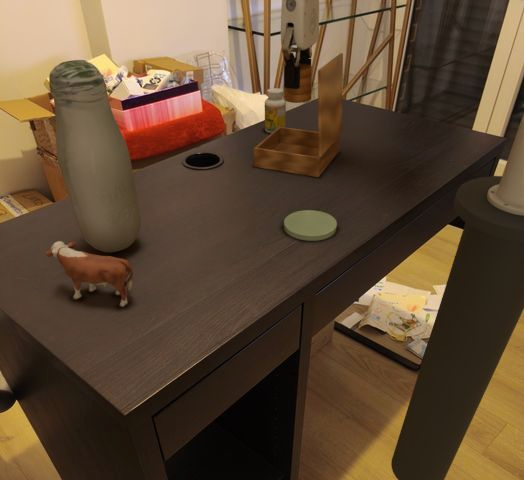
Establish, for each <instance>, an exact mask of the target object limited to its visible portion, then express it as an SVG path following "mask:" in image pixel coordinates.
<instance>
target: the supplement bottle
mask: <svg viewBox="0 0 524 480" xmlns="http://www.w3.org/2000/svg"><path fill="white" fill-rule="evenodd" d="M266 97H267V98H266V99H265V100H264V131H265V132H266V133H267V134H271V133H272V132H274V131H275V130H276V129H277V128H278V127H286V119H287V116H286V115H287V112H286V111H287V101H284V100H283V88H280V87H272V88H268V89H267V91H266Z"/></svg>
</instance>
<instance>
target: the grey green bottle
mask: <svg viewBox="0 0 524 480" xmlns="http://www.w3.org/2000/svg"><path fill="white" fill-rule="evenodd" d="M48 81H49V82H48V84H49V91H50V94H51V96H52V99H53V105H54V106H53V107H54V114H55V115H54V116H55V145H56V146H55V147H56V157H57V162H58V165H59V168H60V172H61V175H62V178H63V183H64V184H65V188H66V192H67V195H68V198H69V201H70V204H71V207H72V210H73V213H74V217H75V220H76V223H77V226H78V228H79V231H80V233H81V235H82V237H83V239H84V240H85V241H86V243H87V244H88V245H89V246H91V247H92V248H94V249H95V250H97V251H99V252H103V253H116V252H121V251H122V250H125V249H127V248H129V247H130V246H131V245H133V244H134V242H135V241H136V240H137V238H138V236H139V234H140V230H141V223H142V222H141V213H140V207H139V202H138V197H137V196H138V195H137V192H136V185H135V184H136V183H135V179H134V172H133V167H132V160H131V155H130V152H129V148H128V146H127V143H126V140H125V138H124V136H123V133H122V131H121V128H120V126H119V124H118V121H117V120H116V118H115V115H114V114H113V110H112V107H111V103H110V100H109V95H108V89H107V84H106V81H105V79H104V76H103V75H102V73H101V71H100V70H99V68H98V67H97V66H96V65H94V64H93V63H92V62H89V61H87V60H85V59H74V60H66V61H62V62H60V63H59V64H57V65H56V66H54V67H53V68H52V70H51V71H50V73H49V76H48Z"/></svg>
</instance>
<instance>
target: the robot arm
mask: <svg viewBox="0 0 524 480" xmlns="http://www.w3.org/2000/svg"><path fill="white" fill-rule="evenodd" d="M280 12H281V13H280V46H281V52H282V55H283V67H284V87H285V88H290V89H299V87H300V66H298V65H299V64H308V65H311V66H312V57H313V46H314V45H315V44H317V43H318V41H319V38H320V0H281V11H280ZM292 46H293V47H292ZM294 46H296V47H294ZM294 53H295V54H294ZM501 176H502V178H501V181H500V184H498V185H495V186H493V187H491V188H490V189H489V191H488V193H487V199H488V201H489V202H490V203H491V204H492V205H493V206H495V207H496V208H498V209H500V210H502V211H505V212H508V213H511V214H515V215H521V216H524V113H523V114H522V117H521V120H520V123H519V126H518V129H517V131H516V135H515V137H514V141H513V143H512V146H511V149H510V152H509V154H508V157H507V161H506V163H505V166H504V169H503V172H502V175H501Z"/></svg>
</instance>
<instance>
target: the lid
mask: <svg viewBox="0 0 524 480" xmlns="http://www.w3.org/2000/svg"><path fill="white" fill-rule="evenodd" d="M343 71H344V53H343V52H340V53H339V54H337V55H336V56H335V57H334V58H332V59H331V60H330V61H328V62H327V63H326V64H324V65H323V66H321V67H320V68H319V69H317V120H318V121H317V122H318V125H317V126H318V131H317V132H318V138H319V157H321V156H322V155H323V154H324V153H325V152H326V151H327V149H328V148H329V147H330V146H331V145H332V144H333V142H334V141H335V140H336V139H337V138H338V137H339V135H340V136H341V134H342V131H343V130H342V127H343V126H342V125H343V124H342V123H343V83H344V82H343V78H344V75H343V74H344V72H343Z"/></svg>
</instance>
